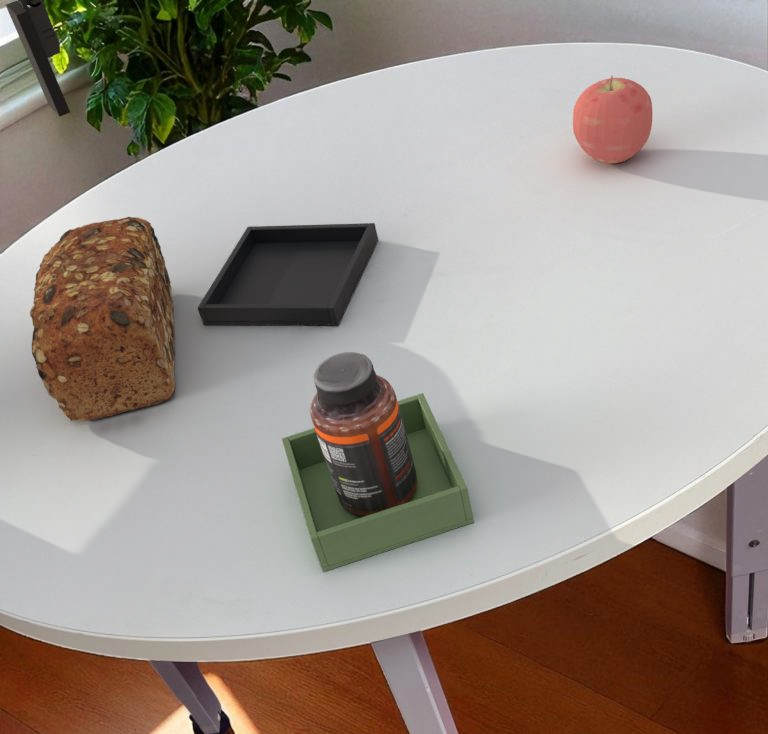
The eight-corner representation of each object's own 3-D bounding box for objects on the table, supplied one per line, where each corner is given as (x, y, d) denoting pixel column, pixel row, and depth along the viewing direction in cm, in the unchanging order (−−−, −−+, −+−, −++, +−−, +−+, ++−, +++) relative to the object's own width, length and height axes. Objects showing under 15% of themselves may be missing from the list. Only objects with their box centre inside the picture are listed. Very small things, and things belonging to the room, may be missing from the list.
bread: (183, 402, 90) (141, 305, 83) (62, 433, 90) (9, 339, 83) (180, 283, 103) (143, 191, 96) (74, 311, 104) (29, 221, 97)
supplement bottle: (418, 457, 79) (389, 334, 71) (420, 515, 75) (389, 392, 67) (339, 469, 80) (301, 349, 72) (337, 527, 76) (296, 406, 68)
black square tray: (203, 325, 98) (197, 308, 96) (252, 243, 106) (247, 226, 105) (338, 325, 93) (333, 308, 92) (378, 240, 102) (374, 222, 100)
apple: (581, 140, 107) (576, 61, 101) (657, 136, 105) (655, 55, 99) (570, 179, 102) (563, 99, 97) (649, 176, 100) (647, 94, 94)
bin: (322, 572, 74) (310, 539, 71) (293, 471, 81) (281, 438, 79) (474, 522, 74) (467, 488, 72) (430, 426, 82) (422, 392, 79)
